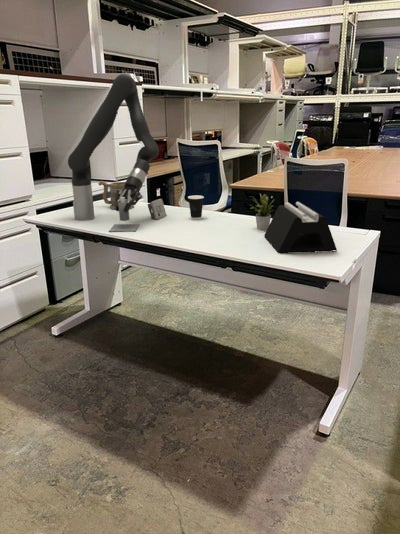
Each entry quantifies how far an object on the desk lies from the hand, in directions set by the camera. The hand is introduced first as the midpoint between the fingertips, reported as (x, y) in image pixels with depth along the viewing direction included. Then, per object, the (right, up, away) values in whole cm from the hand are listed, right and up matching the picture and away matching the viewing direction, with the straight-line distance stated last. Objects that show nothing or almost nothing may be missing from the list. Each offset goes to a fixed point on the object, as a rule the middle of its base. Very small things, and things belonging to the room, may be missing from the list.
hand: (121, 210), depth 189 cm
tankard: (-12, +8, +49) cm, 51 cm away
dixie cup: (+34, -1, +21) cm, 40 cm away
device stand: (+75, -17, -22) cm, 80 cm away
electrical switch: (+14, -1, +24) cm, 28 cm away
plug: (+1, -4, +3) cm, 5 cm away
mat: (+1, -8, +4) cm, 9 cm away
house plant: (+64, -8, +2) cm, 64 cm away
